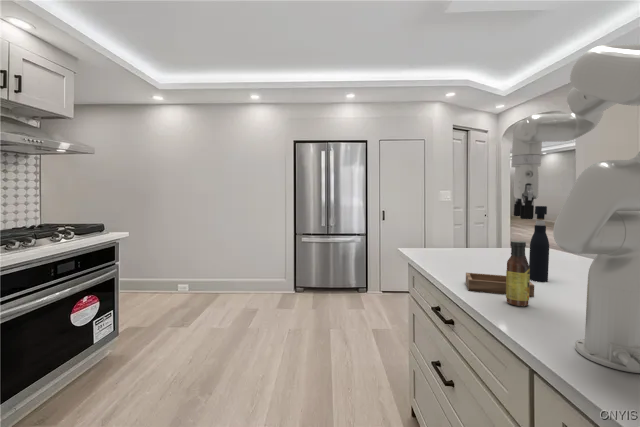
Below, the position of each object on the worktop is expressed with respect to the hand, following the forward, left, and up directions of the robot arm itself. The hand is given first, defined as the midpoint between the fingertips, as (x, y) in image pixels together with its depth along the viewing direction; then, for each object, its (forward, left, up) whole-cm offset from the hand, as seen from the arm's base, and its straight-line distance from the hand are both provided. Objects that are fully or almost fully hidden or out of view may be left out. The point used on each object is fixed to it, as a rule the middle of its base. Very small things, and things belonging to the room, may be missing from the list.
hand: (522, 217), depth 97 cm
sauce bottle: (0, +1, -28) cm, 28 cm away
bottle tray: (+15, +4, -27) cm, 31 cm away
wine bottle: (+35, -14, -28) cm, 47 cm away
